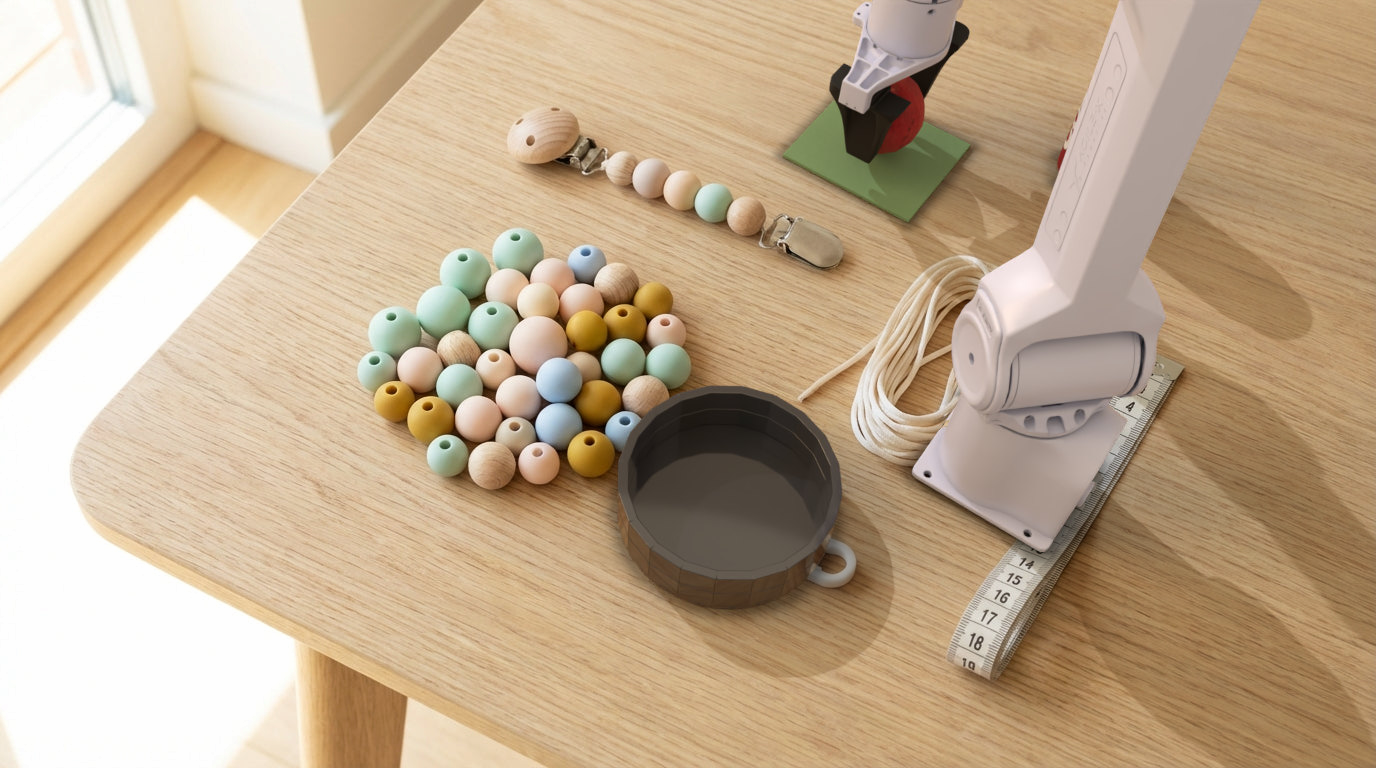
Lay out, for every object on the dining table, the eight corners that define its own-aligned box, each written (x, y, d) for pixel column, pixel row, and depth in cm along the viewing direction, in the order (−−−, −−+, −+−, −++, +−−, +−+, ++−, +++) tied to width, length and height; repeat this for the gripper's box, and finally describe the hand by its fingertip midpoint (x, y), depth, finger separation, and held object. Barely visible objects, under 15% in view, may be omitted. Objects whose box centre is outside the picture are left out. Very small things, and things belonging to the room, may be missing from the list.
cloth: (970, 147, 95) (971, 144, 94) (908, 223, 90) (908, 220, 89) (848, 86, 98) (849, 83, 97) (782, 156, 93) (782, 154, 92)
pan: (870, 491, 76) (882, 458, 73) (755, 652, 70) (763, 623, 67) (697, 386, 80) (701, 350, 77) (573, 530, 74) (572, 497, 70)
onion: (909, 182, 92) (933, 101, 85) (833, 168, 92) (851, 86, 85) (916, 129, 95) (940, 48, 88) (843, 116, 95) (861, 34, 89)
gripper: (920, -97, 85) (884, 56, 96) (813, 7, 78) (787, 159, 89) (1011, -58, 83) (962, 94, 94) (909, 53, 76) (870, 203, 87)
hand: (882, 129), depth 92 cm, fingers open, 6 cm apart
